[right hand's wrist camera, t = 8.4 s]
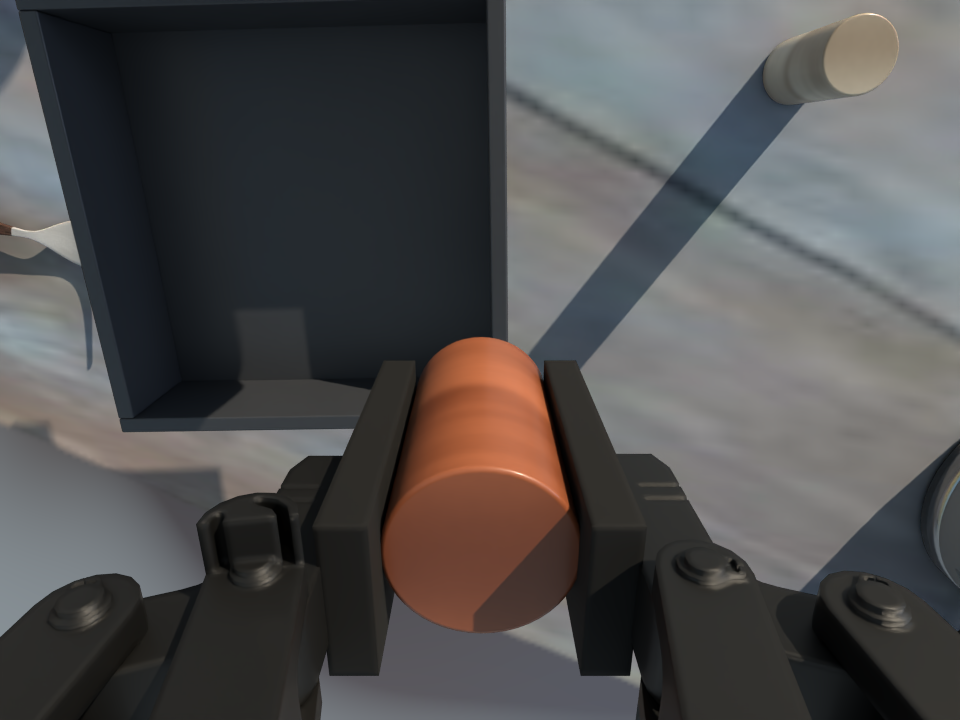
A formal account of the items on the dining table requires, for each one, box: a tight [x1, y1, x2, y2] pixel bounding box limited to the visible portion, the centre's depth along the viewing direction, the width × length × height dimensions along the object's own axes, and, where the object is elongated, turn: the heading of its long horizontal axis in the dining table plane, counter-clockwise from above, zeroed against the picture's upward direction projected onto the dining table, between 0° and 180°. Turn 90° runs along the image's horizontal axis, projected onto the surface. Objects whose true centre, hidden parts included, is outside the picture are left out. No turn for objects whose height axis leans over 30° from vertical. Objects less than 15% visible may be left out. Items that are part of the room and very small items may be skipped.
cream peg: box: [763, 13, 899, 105], centre depth 28 cm, size 3×3×6 cm
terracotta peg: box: [381, 337, 580, 633], centre depth 12 cm, size 3×3×6 cm
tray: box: [15, 0, 508, 432], centre depth 21 cm, size 24×15×5 cm, turn 1°
